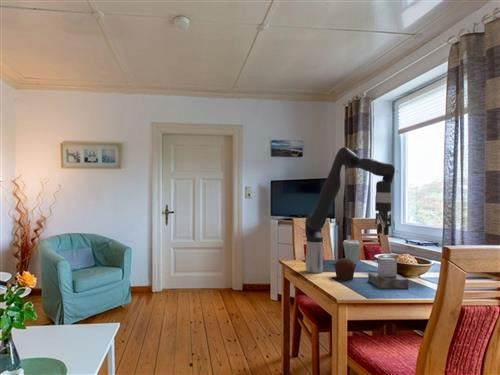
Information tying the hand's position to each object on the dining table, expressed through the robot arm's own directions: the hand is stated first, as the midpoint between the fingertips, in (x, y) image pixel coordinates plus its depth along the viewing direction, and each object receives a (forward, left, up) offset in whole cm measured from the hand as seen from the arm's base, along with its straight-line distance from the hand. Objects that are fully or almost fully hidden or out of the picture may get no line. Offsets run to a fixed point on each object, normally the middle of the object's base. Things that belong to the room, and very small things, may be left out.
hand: (382, 234), depth 173 cm
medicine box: (+1, -2, -21) cm, 21 cm away
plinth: (+2, -2, -25) cm, 25 cm away
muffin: (-15, +12, -25) cm, 32 cm away
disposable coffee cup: (+1, +50, -25) cm, 56 cm away
